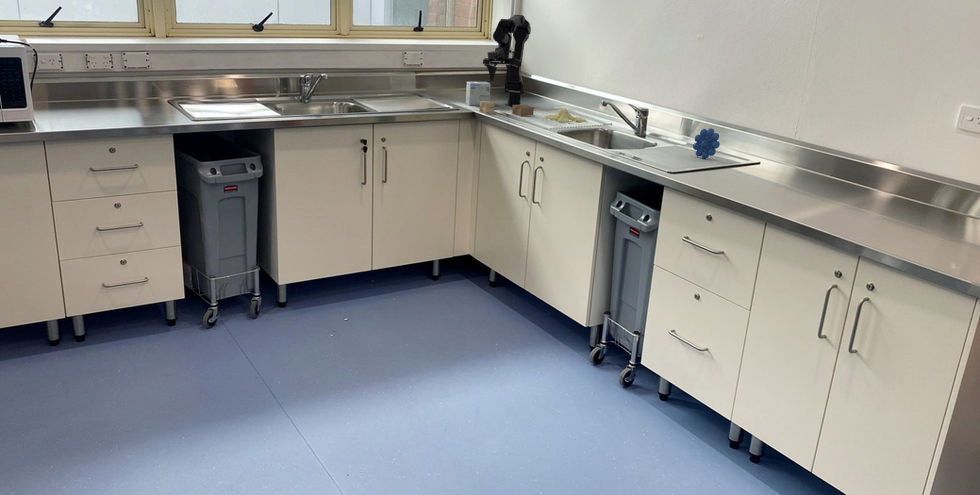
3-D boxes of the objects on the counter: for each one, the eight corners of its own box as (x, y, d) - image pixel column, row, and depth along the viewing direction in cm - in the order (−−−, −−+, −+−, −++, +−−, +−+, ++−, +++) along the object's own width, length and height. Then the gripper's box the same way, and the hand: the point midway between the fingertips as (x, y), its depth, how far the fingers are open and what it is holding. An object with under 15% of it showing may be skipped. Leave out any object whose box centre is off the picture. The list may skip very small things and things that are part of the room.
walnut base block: (512, 113, 383) (512, 105, 381) (524, 113, 386) (524, 104, 385) (520, 116, 377) (521, 107, 376) (533, 115, 381) (533, 107, 380)
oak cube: (479, 112, 382) (480, 101, 380) (488, 111, 385) (489, 100, 383) (485, 113, 378) (485, 103, 376) (494, 113, 381) (494, 102, 379)
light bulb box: (485, 103, 407) (486, 81, 403) (489, 105, 401) (491, 83, 397) (465, 103, 403) (466, 80, 400) (468, 105, 397) (470, 83, 394)
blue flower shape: (723, 160, 312) (728, 129, 308) (712, 162, 308) (717, 131, 304) (698, 154, 320) (703, 124, 316) (687, 156, 316) (692, 125, 312)
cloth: (594, 123, 375) (595, 109, 373) (568, 126, 363) (569, 113, 361) (557, 114, 390) (558, 101, 388) (531, 118, 378) (532, 104, 376)
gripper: (477, 43, 374) (472, 77, 375) (508, 42, 362) (503, 78, 363) (492, 48, 382) (488, 82, 383) (524, 48, 370) (519, 83, 371)
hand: (499, 81), depth 375 cm, fingers open, 9 cm apart
